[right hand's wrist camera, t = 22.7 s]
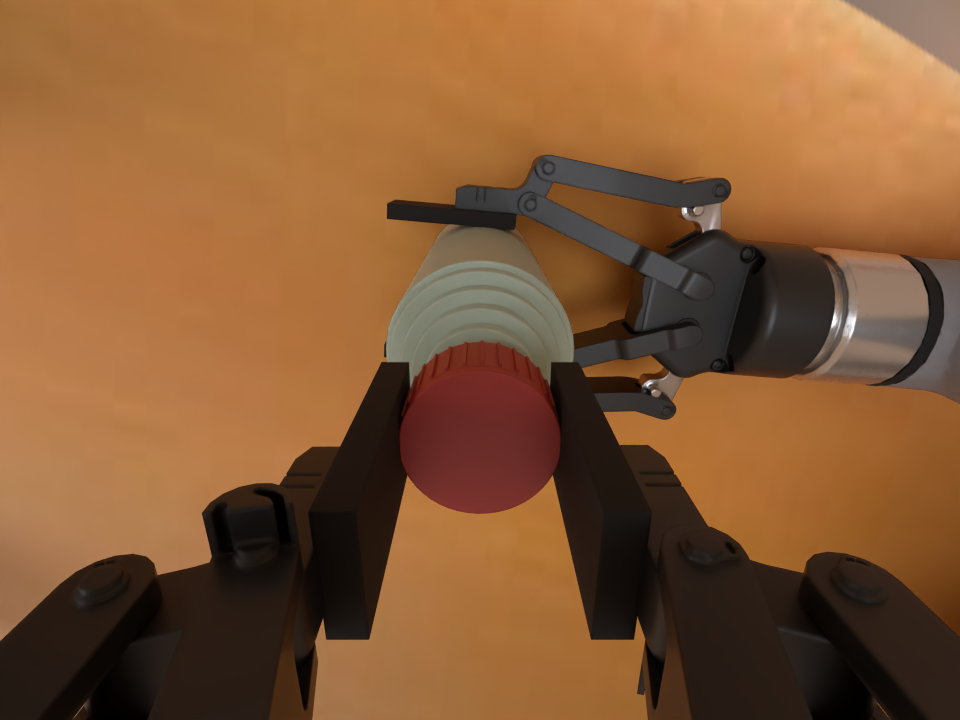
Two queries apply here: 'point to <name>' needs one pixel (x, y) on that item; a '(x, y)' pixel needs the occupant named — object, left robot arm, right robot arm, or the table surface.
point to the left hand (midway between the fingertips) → (390, 279)
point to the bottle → (479, 301)
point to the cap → (479, 429)
